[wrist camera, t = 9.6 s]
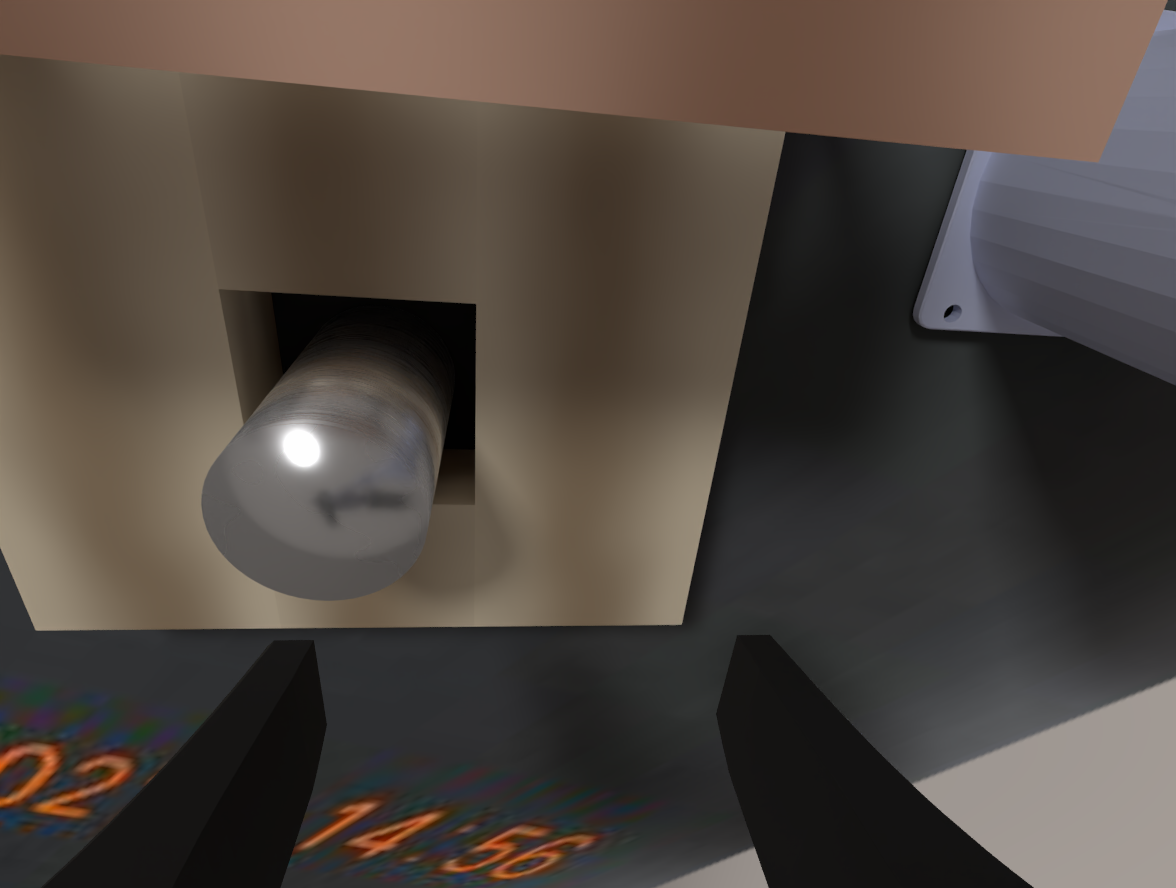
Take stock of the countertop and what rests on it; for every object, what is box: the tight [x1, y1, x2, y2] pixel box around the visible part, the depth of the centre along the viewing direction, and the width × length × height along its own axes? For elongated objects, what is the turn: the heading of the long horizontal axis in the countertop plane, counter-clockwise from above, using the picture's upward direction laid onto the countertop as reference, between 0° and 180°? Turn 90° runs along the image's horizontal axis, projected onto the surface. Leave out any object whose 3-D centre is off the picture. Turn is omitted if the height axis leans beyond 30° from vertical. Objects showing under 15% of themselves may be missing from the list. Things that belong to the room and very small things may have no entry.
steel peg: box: [201, 305, 455, 601], centre depth 15 cm, size 4×4×7 cm
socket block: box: [0, 0, 1168, 630], centre depth 12 cm, size 19×20×10 cm
